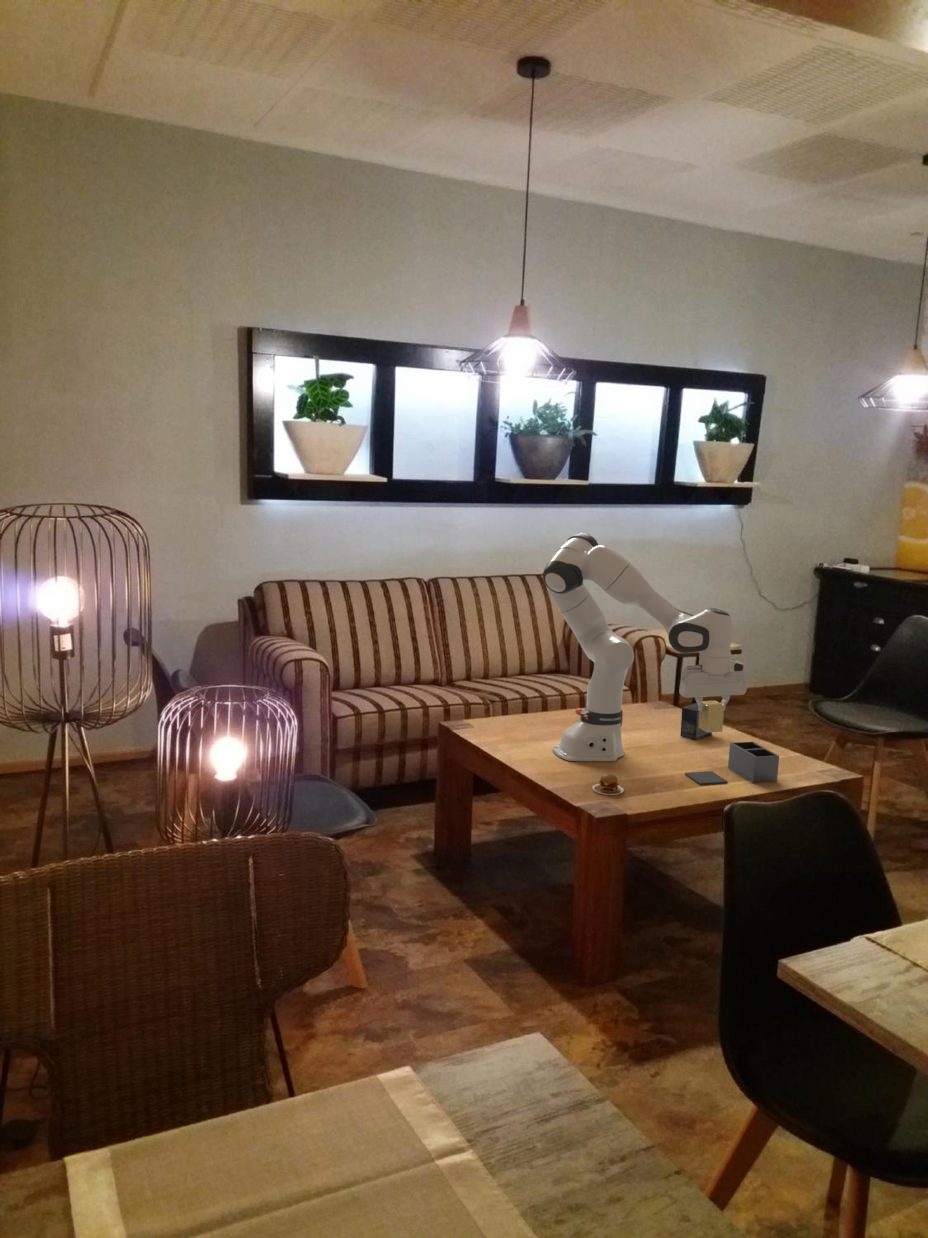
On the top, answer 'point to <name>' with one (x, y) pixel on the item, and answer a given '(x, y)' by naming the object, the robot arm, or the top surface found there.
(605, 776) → the hamburger
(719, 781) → the mat
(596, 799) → the top surface
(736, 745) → the divided storage bin
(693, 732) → the small box
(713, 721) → the cream tapered block
